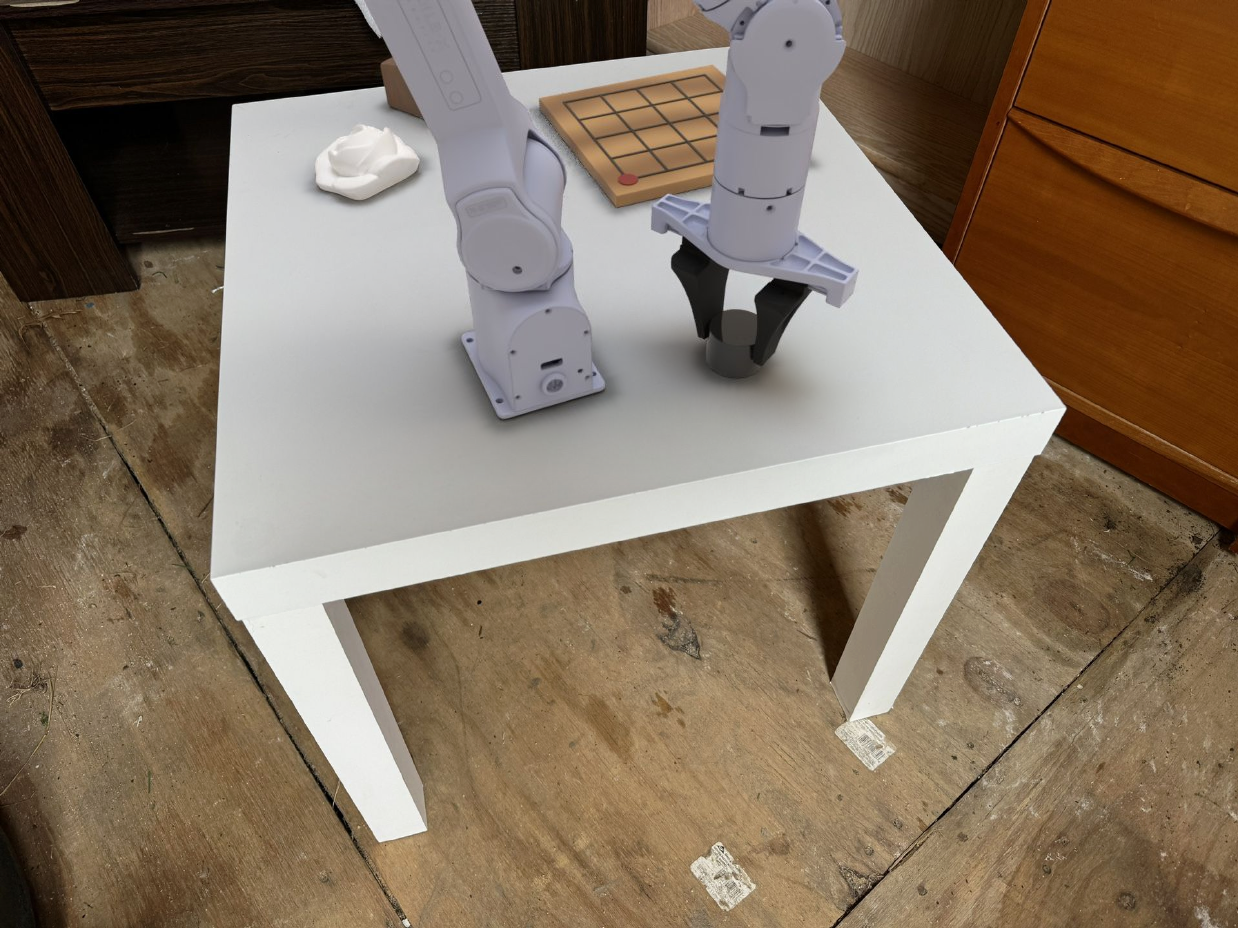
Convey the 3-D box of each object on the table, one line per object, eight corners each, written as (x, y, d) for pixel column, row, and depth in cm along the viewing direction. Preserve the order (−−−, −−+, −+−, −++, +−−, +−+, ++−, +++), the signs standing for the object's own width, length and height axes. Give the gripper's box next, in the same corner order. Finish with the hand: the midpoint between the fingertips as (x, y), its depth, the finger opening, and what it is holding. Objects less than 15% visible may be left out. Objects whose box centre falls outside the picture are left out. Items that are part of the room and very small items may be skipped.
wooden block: (386, 107, 91) (348, -92, 77) (416, 90, 93) (384, -105, 80) (453, 131, 88) (424, -72, 74) (482, 113, 90) (459, -86, 77)
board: (808, 163, 84) (811, 150, 83) (616, 208, 79) (616, 194, 78) (711, 75, 96) (712, 63, 95) (539, 109, 91) (538, 97, 90)
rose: (406, 158, 75) (291, 159, 75) (414, 204, 79) (305, 205, 79) (420, 103, 82) (315, 103, 82) (428, 147, 85) (327, 148, 85)
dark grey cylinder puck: (773, 369, 64) (778, 337, 62) (722, 384, 63) (726, 352, 61) (745, 334, 67) (749, 303, 65) (695, 349, 66) (698, 317, 64)
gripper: (897, 184, 53) (851, 354, 63) (696, 114, 59) (684, 281, 69) (844, 238, 50) (804, 410, 60) (634, 158, 55) (631, 327, 65)
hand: (736, 344), depth 64 cm, fingers closed on dark grey cylinder puck, 4 cm apart
